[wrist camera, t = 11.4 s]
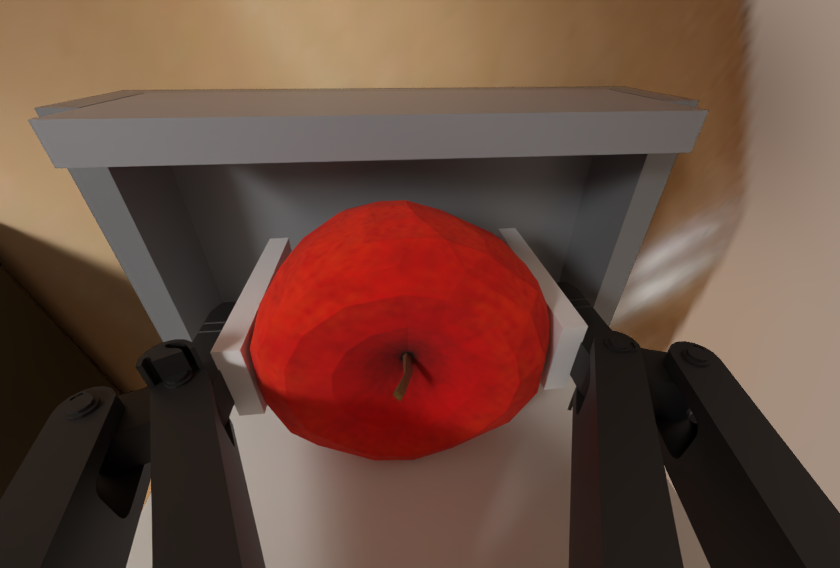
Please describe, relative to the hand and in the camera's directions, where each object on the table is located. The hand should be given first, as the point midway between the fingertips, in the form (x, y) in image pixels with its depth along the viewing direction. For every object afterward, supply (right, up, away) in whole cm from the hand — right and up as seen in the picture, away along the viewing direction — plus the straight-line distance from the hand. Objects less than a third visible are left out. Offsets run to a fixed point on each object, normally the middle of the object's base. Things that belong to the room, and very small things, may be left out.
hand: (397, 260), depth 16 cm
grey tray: (0, -1, +5) cm, 5 cm away
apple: (0, 0, 0) cm, 0 cm away
